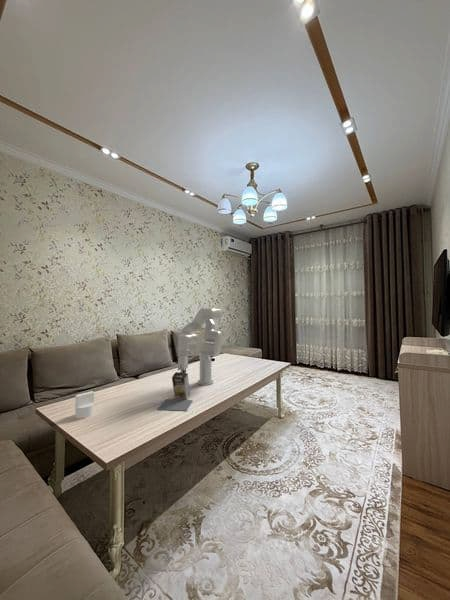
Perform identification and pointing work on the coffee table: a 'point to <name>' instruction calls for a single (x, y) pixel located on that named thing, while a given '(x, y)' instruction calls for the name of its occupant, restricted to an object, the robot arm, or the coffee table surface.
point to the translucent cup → (84, 405)
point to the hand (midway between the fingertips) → (183, 379)
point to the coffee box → (181, 385)
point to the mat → (175, 405)
